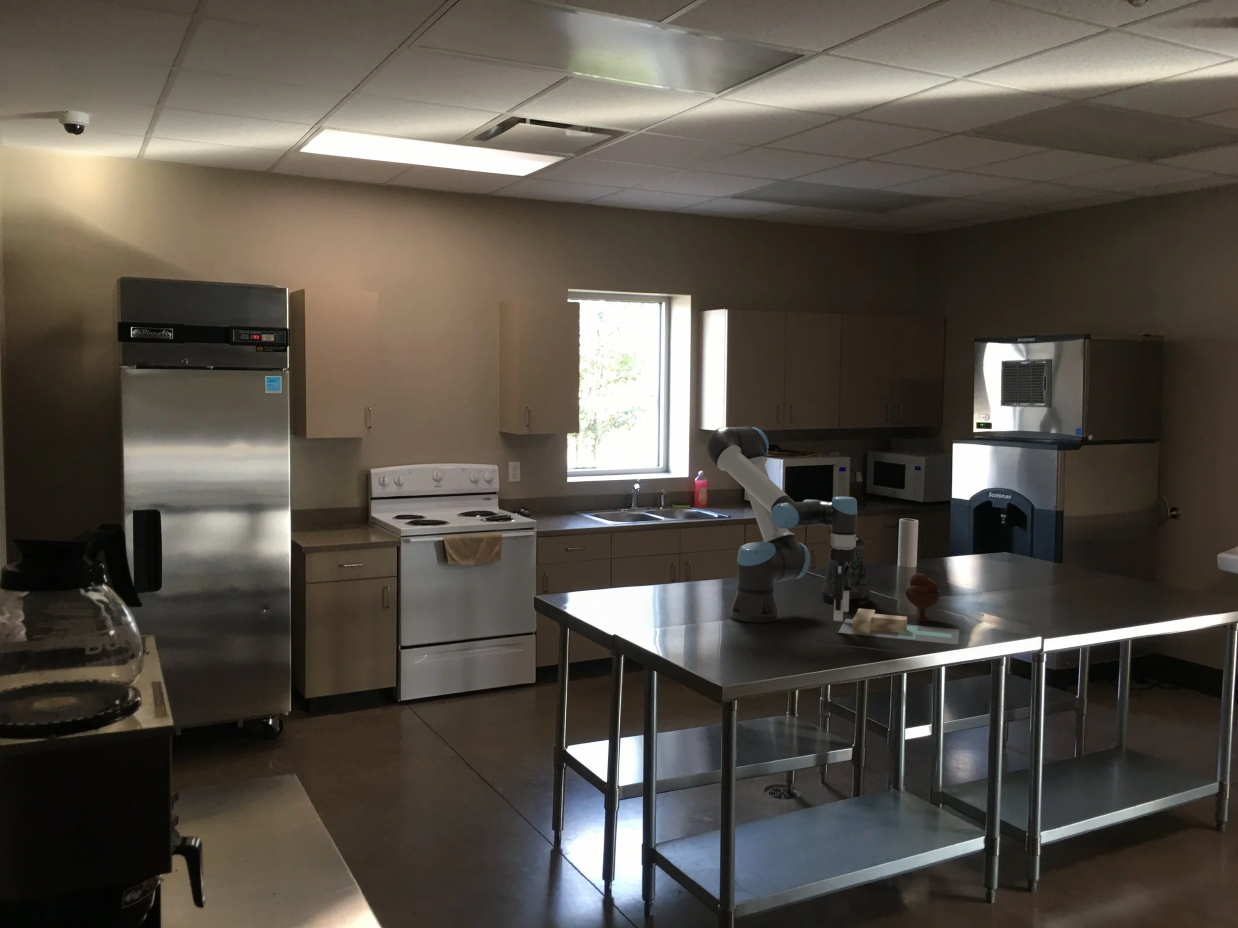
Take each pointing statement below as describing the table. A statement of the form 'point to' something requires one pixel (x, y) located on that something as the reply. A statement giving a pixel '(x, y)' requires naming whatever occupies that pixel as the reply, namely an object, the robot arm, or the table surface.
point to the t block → (877, 622)
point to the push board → (912, 633)
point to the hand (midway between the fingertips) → (841, 615)
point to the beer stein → (857, 577)
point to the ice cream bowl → (922, 594)
